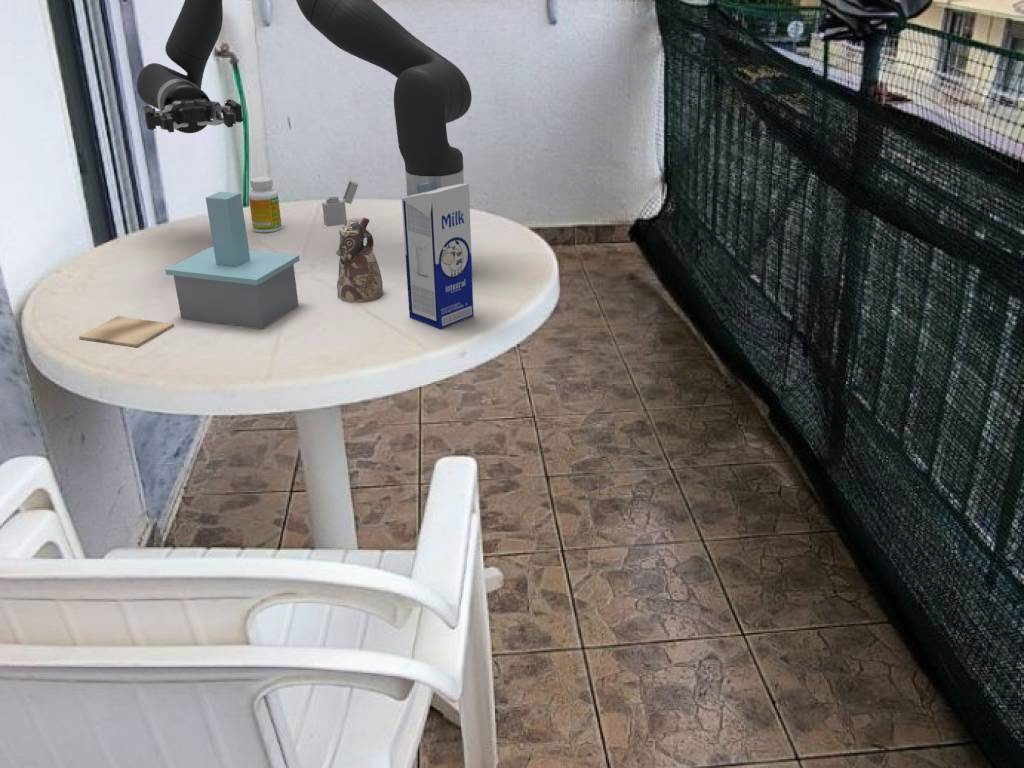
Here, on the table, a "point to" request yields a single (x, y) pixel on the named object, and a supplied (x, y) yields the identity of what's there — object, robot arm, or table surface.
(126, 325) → the mat
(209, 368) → the table surface
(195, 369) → the table surface
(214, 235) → the lid
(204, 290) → the tub
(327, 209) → the lighter
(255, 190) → the supplement bottle
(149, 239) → the table surface
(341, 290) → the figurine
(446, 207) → the milk carton
